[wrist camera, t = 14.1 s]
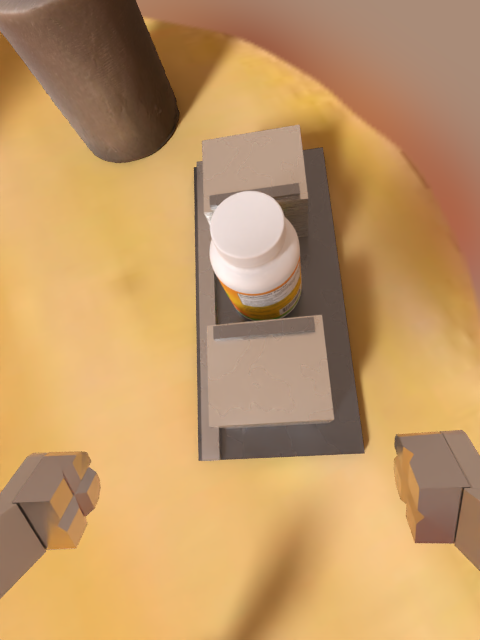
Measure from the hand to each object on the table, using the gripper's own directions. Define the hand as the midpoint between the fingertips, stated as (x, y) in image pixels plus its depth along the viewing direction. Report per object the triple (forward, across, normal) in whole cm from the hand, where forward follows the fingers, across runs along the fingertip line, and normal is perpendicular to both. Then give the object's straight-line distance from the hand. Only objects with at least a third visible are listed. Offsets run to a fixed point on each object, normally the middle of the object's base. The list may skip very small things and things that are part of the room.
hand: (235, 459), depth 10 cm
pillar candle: (+34, +12, -9) cm, 37 cm away
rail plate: (+20, 0, +4) cm, 21 cm away
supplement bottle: (+20, 0, +4) cm, 20 cm away
